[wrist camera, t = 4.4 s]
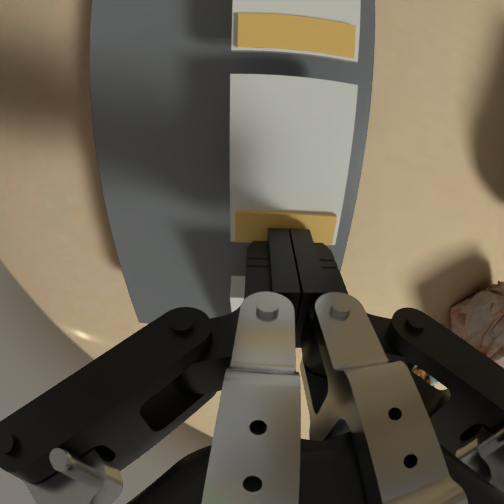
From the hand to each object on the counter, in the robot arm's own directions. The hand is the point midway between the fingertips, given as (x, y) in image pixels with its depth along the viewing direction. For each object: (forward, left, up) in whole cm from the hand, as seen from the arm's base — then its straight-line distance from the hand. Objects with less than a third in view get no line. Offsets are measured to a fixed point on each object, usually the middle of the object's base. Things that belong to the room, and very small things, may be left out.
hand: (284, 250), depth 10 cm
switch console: (-3, -2, -7) cm, 8 cm away
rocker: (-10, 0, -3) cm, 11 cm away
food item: (+13, +24, -7) cm, 28 cm away
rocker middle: (-3, 0, -3) cm, 4 cm away
